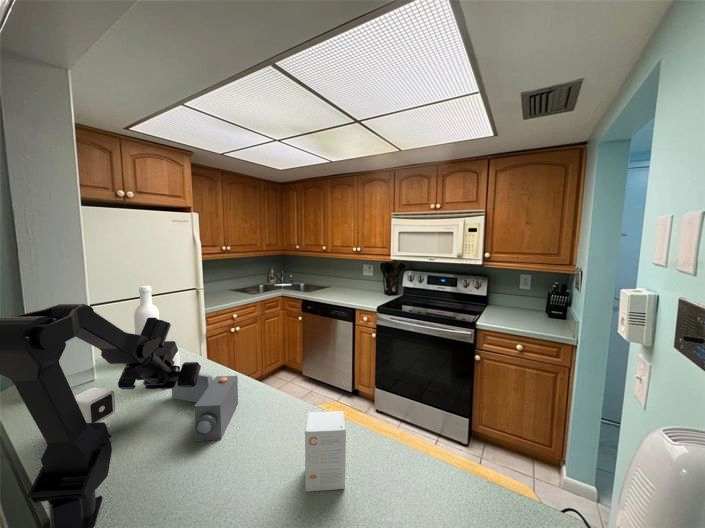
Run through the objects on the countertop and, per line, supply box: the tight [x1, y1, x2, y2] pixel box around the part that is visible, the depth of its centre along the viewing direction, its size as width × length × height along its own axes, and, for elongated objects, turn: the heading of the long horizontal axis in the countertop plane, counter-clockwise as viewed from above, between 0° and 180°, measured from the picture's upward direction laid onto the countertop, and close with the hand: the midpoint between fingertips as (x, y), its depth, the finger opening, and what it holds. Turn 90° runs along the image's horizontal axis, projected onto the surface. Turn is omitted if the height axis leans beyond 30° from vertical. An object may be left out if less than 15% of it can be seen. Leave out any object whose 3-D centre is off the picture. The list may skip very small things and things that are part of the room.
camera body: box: [194, 375, 239, 442], centre depth 76 cm, size 17×8×10 cm, turn 6°
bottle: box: [133, 285, 160, 335], centre depth 108 cm, size 8×8×30 cm
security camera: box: [74, 387, 116, 428], centre depth 71 cm, size 6×7×10 cm
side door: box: [171, 369, 211, 403], centre depth 85 cm, size 13×2×9 cm, turn 76°
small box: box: [304, 410, 347, 493], centre depth 59 cm, size 8×6×13 cm
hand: (172, 384), depth 83 cm, fingers closed
